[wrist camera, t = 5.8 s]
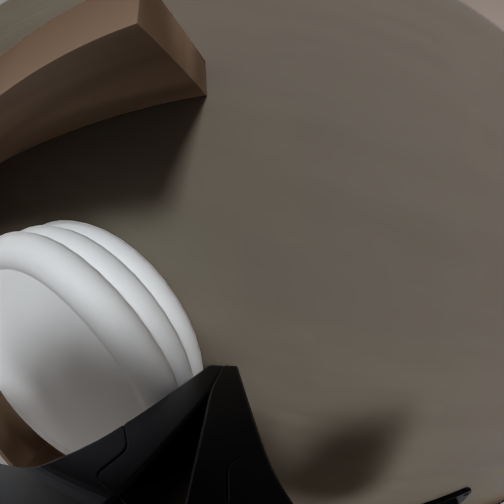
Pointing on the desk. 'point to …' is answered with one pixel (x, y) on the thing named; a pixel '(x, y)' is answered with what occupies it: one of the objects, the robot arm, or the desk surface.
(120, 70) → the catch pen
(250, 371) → the desk surface
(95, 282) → the coaster
